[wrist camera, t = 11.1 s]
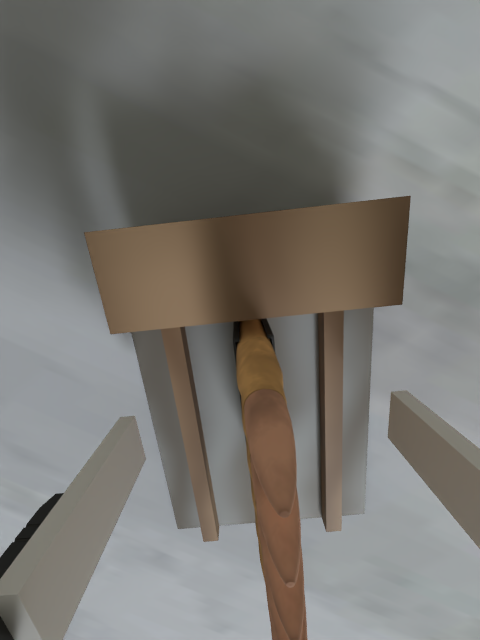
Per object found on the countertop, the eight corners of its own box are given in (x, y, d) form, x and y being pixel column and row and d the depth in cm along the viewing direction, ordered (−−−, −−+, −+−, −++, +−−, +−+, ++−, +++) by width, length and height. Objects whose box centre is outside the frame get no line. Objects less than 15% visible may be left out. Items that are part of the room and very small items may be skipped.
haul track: (179, 523, 21) (155, 628, 15) (114, 245, 15) (31, 238, 9) (362, 508, 20) (411, 609, 14) (373, 216, 14) (467, 189, 8)
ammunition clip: (233, 309, 15) (221, 475, 4) (261, 306, 15) (341, 463, 4) (250, 444, 18) (273, 785, 6) (274, 442, 18) (341, 779, 6)
